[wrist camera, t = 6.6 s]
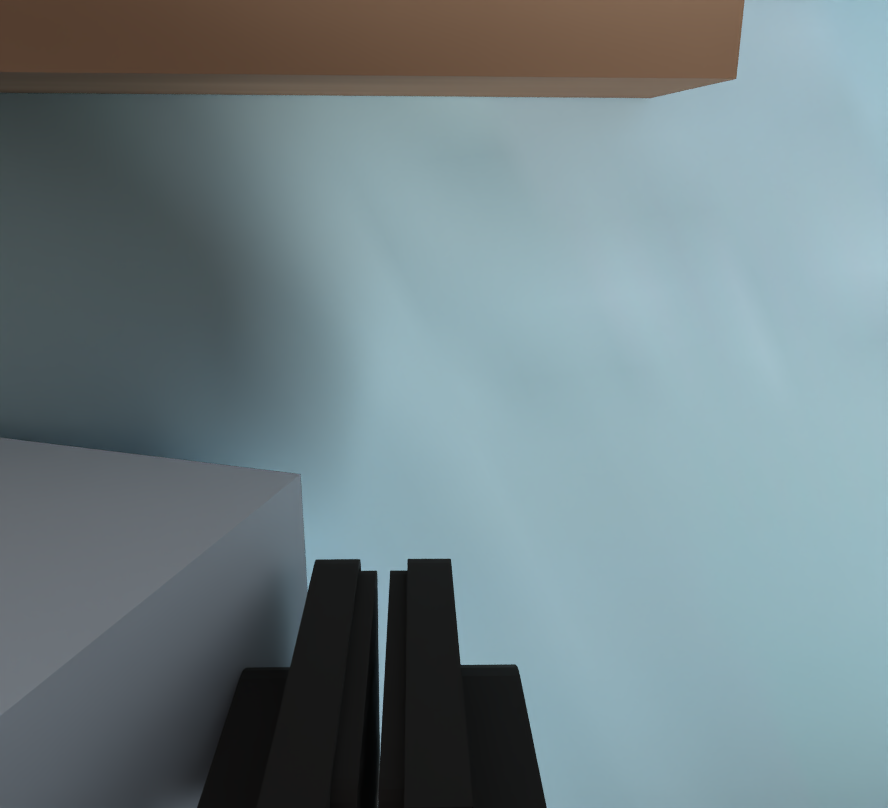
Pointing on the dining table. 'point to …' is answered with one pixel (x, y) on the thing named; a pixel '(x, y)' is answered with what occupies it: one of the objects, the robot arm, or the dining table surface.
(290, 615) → the block
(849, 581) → the dining table surface
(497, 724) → the robot arm
